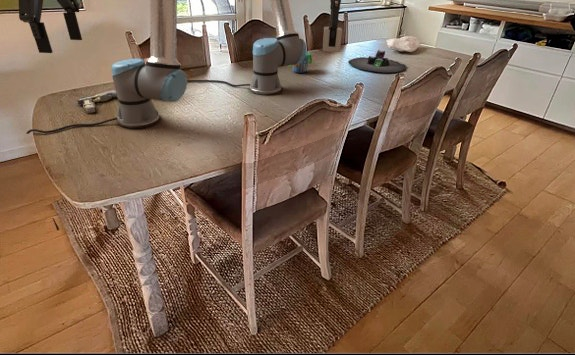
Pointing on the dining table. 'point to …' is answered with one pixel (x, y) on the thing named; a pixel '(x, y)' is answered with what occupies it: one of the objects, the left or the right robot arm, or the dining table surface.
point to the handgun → (95, 100)
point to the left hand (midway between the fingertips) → (62, 45)
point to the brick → (326, 40)
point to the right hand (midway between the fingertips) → (331, 44)
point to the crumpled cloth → (404, 44)
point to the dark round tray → (377, 63)
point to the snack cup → (303, 64)
